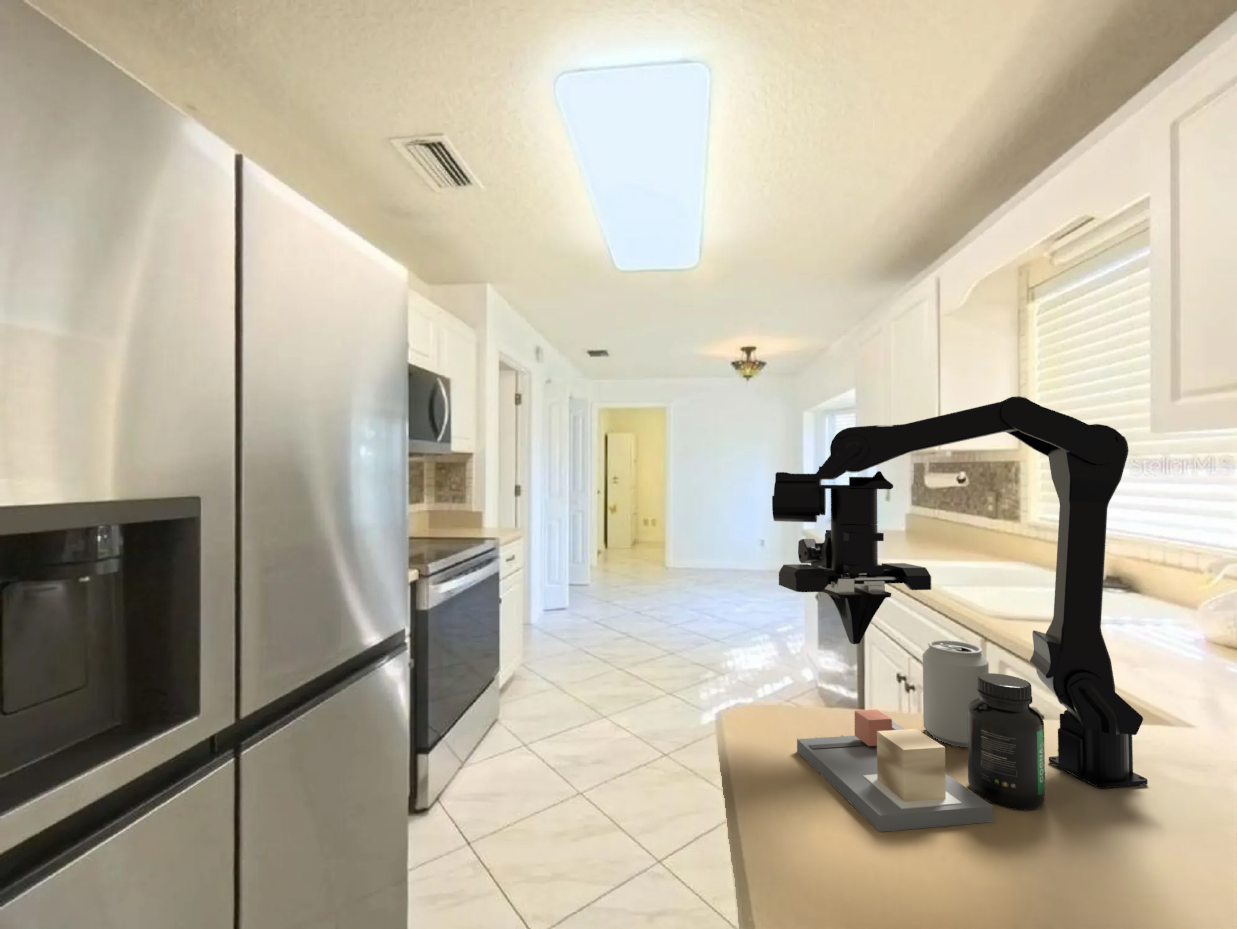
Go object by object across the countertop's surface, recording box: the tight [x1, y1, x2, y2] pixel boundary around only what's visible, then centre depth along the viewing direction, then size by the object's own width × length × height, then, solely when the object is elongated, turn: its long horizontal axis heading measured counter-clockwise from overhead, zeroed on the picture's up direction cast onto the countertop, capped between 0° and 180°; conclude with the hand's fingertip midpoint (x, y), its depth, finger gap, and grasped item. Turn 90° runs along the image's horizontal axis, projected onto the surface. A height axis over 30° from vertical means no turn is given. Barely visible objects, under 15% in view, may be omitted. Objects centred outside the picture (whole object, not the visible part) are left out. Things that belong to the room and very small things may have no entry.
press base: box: [796, 720, 994, 833], centre depth 65 cm, size 12×17×4 cm
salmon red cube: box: [854, 709, 893, 746], centre depth 71 cm, size 3×3×3 cm
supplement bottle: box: [967, 672, 1046, 811], centre depth 63 cm, size 7×7×12 cm
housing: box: [877, 728, 946, 802], centre depth 60 cm, size 4×4×5 cm
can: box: [922, 639, 990, 748], centre depth 77 cm, size 8×8×12 cm
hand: (854, 643), depth 77 cm, fingers closed
